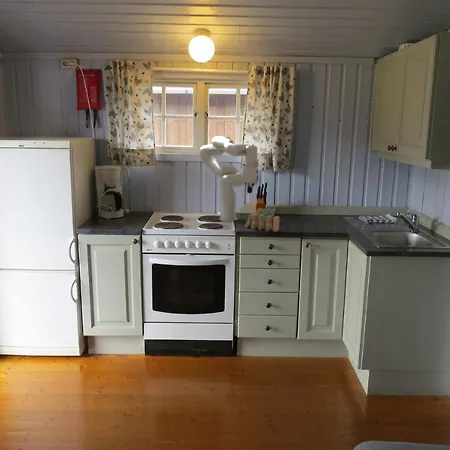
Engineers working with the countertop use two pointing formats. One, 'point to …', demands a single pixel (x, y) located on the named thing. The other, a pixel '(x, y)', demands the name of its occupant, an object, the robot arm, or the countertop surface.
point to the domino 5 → (276, 223)
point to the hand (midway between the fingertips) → (249, 192)
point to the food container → (267, 212)
